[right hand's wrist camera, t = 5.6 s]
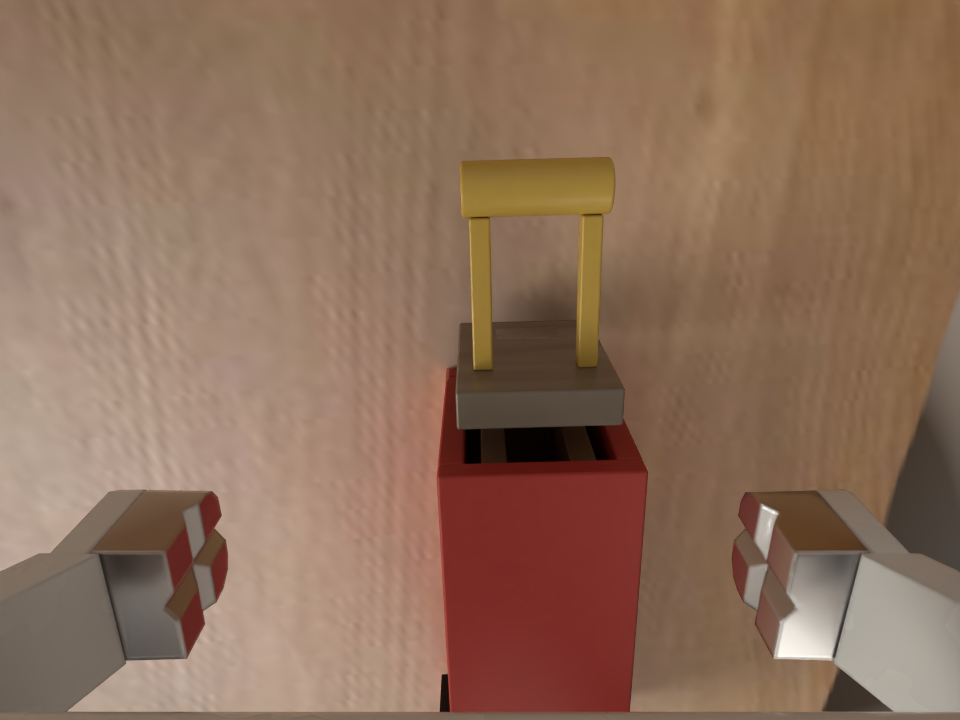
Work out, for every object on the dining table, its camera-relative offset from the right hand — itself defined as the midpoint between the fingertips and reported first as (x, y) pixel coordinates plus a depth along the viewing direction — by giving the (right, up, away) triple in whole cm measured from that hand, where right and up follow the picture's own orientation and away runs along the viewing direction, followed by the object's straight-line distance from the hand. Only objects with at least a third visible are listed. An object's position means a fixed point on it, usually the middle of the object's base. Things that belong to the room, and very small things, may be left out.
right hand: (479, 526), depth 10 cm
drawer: (+2, -1, +16) cm, 17 cm away
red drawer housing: (+2, -6, +19) cm, 20 cm away
